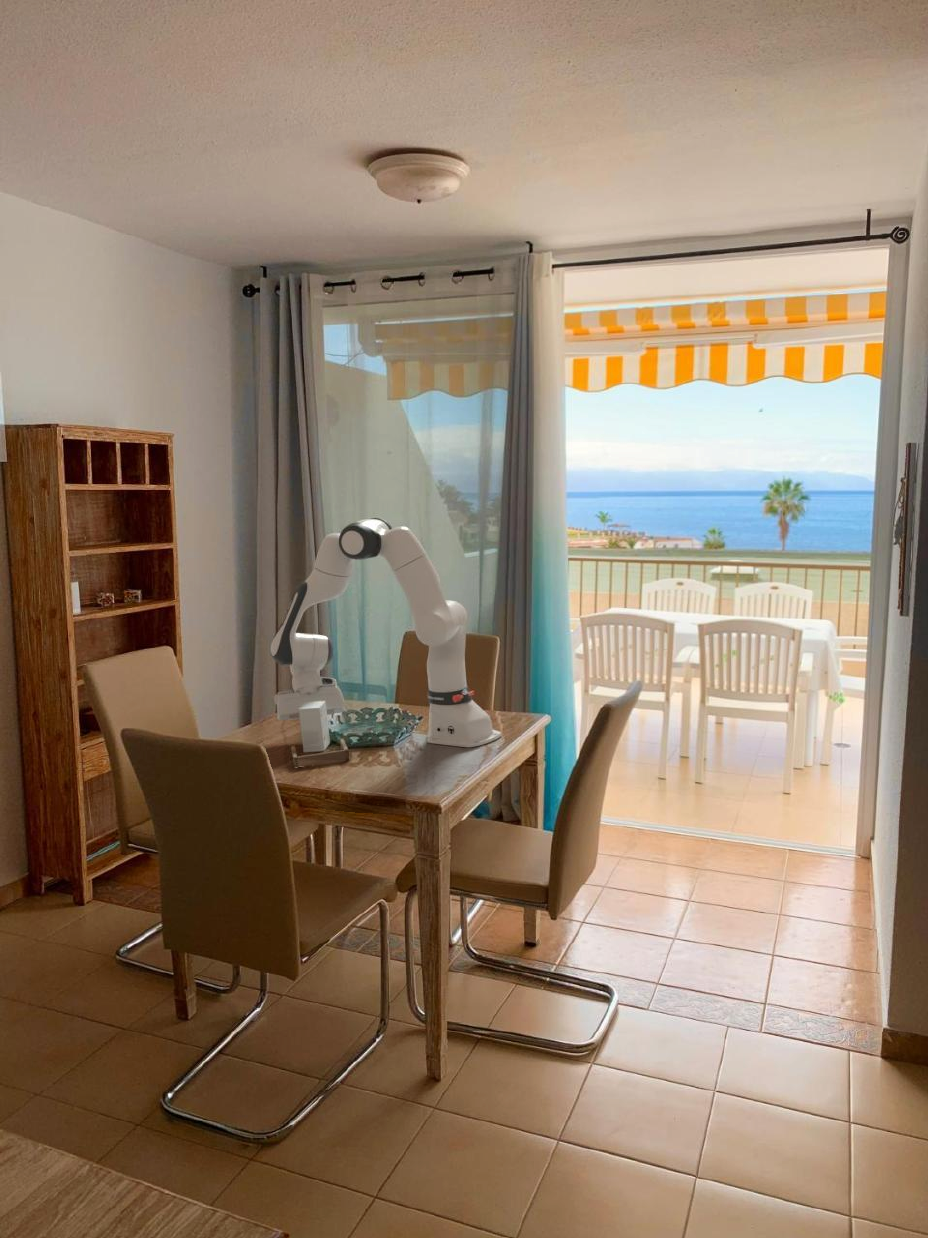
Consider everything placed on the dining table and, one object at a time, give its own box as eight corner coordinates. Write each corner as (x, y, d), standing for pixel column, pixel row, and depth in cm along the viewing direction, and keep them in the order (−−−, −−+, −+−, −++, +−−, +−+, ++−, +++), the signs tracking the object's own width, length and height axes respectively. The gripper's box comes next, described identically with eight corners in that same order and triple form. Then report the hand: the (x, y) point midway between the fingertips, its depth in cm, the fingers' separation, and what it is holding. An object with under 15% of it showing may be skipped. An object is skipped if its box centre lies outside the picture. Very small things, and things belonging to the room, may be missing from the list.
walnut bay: (292, 756, 274) (290, 745, 274) (344, 748, 277) (343, 738, 277) (294, 768, 262) (293, 758, 262) (349, 760, 265) (348, 750, 265)
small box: (309, 744, 285) (305, 701, 283) (330, 743, 284) (326, 700, 282) (302, 752, 277) (297, 708, 275) (324, 751, 276) (319, 707, 274)
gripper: (272, 687, 288) (277, 727, 280) (340, 678, 292) (347, 717, 284) (273, 698, 293) (278, 737, 285) (340, 689, 297) (347, 727, 289)
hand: (313, 727), depth 285 cm, fingers closed
